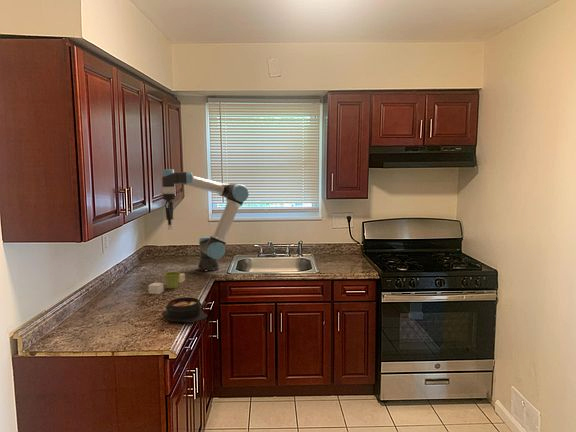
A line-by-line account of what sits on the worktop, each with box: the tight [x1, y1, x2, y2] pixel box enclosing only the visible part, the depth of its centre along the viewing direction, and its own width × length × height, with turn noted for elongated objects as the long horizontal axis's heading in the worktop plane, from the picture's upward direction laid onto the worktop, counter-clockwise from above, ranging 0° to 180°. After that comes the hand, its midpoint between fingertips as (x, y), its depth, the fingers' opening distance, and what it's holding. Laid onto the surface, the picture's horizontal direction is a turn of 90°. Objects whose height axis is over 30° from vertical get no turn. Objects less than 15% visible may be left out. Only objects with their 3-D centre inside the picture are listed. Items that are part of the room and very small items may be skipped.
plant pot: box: [163, 271, 180, 289], centre depth 269 cm, size 9×9×9 cm
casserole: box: [161, 296, 208, 324], centre depth 214 cm, size 25×19×8 cm
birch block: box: [178, 272, 186, 284], centre depth 282 cm, size 6×6×5 cm
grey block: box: [148, 282, 165, 295], centre depth 259 cm, size 6×6×5 cm
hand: (170, 229), depth 287 cm, fingers closed
